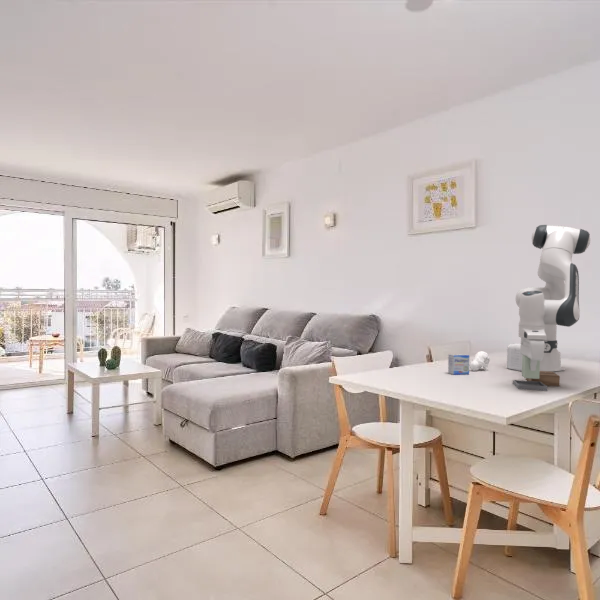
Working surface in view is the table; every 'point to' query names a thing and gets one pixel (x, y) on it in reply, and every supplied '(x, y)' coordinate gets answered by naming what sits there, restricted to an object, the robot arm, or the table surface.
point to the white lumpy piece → (480, 361)
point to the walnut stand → (547, 378)
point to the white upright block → (514, 357)
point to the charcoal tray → (529, 385)
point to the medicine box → (458, 364)
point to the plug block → (526, 368)
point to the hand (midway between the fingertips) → (530, 369)
